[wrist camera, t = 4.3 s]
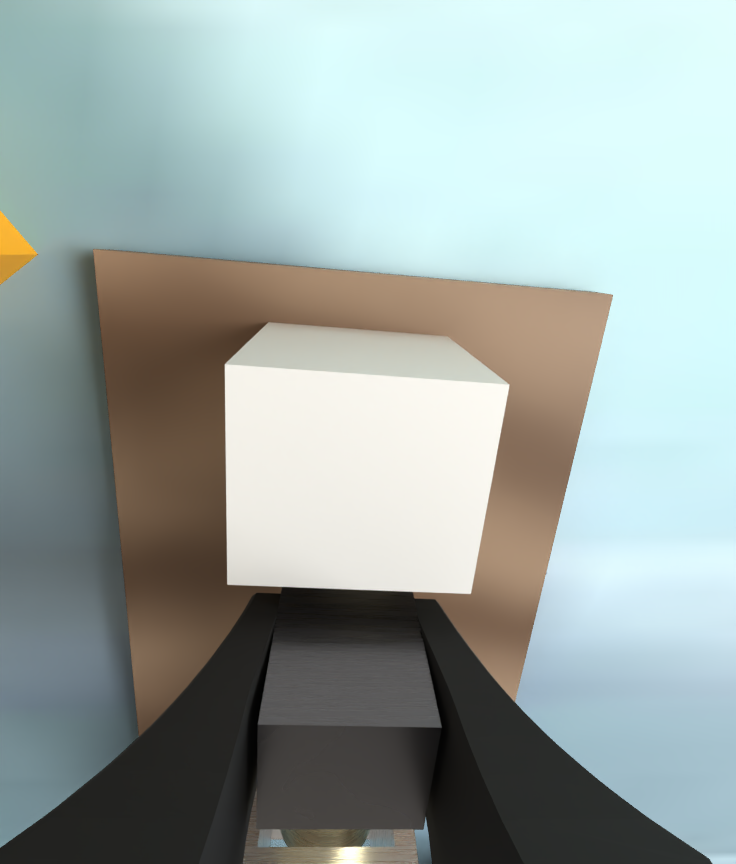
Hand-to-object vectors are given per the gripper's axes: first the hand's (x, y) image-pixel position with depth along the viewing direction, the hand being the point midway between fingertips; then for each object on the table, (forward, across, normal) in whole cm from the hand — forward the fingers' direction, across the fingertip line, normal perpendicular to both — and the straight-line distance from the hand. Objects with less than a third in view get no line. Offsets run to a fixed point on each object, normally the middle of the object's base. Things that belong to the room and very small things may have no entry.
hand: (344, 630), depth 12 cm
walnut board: (+5, 0, +2) cm, 6 cm away
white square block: (+4, 0, -4) cm, 6 cm away
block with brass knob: (+3, 0, +2) cm, 3 cm away
